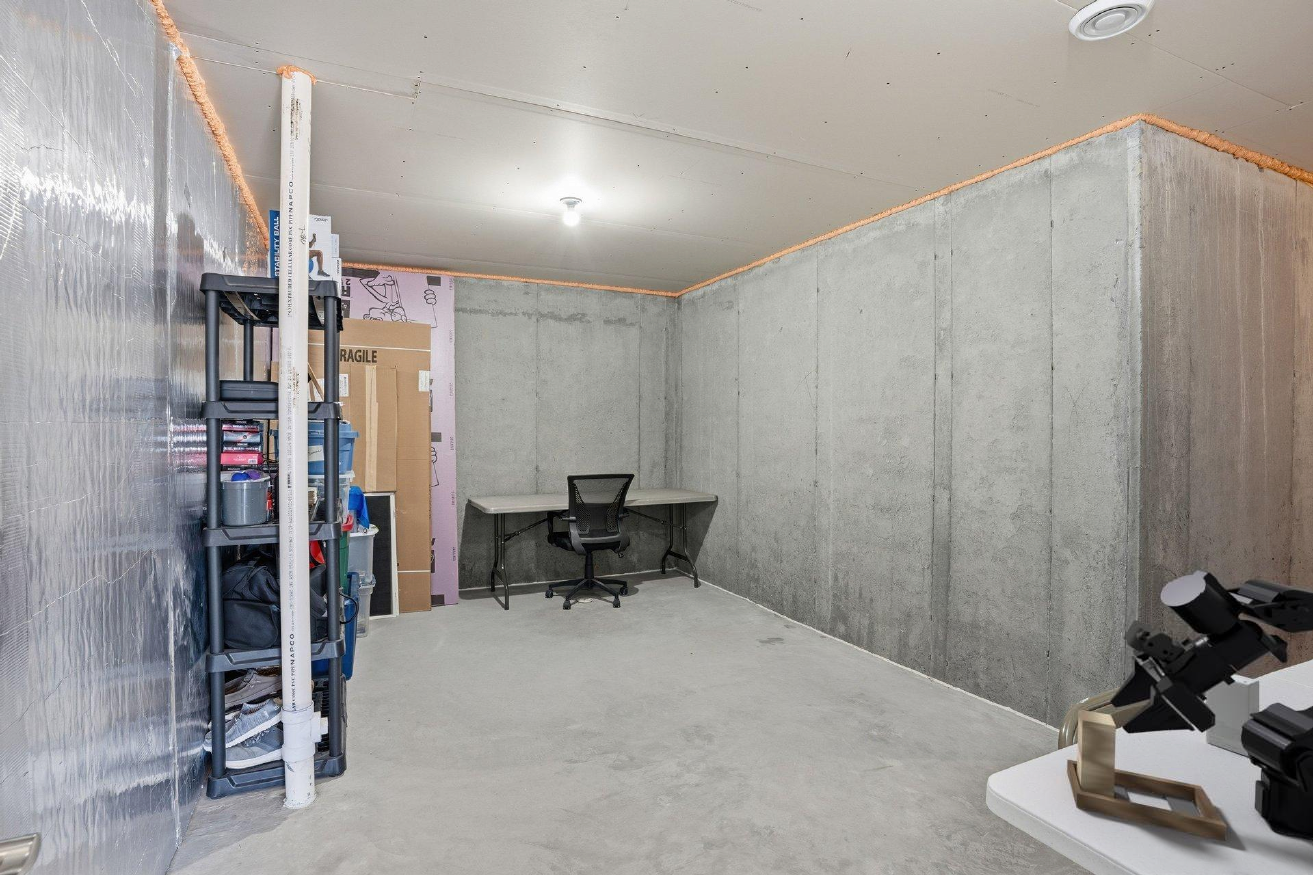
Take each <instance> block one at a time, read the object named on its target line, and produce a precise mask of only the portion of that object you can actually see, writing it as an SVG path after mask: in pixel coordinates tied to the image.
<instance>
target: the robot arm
mask: <svg viewBox="0 0 1313 875" xmlns="http://www.w3.org/2000/svg"><path fill="white" fill-rule="evenodd" d="M1160 600H1161V602H1162V603H1163V604H1164V605H1165V606H1167V608H1168V609H1169V610H1170V611H1172V613H1174V614H1175V615H1176V616H1177V617H1178V618H1179V619H1181V621H1183V623H1185V625H1187V627H1189V628H1190V629H1191V630H1192V631H1193V632H1194V633H1197V634H1199V635H1198V636H1196V637H1195V638H1193V639H1192V638H1191V637H1190V636H1188V635H1187V636H1182V637H1180V638H1178V640H1176V639H1174V638H1173V637H1172V636H1171V634H1168V633H1167V634H1166V633H1164V632H1162V631H1161V630H1160V629H1159V628H1157V629H1155V628H1152V627H1150V626H1149V625H1147V624H1145V623H1142V622H1141V621H1139V620H1136V619H1134V620H1133V622H1132V623H1131V625H1130V626H1129V628H1128V629H1127V631H1126V633H1125V634H1124V636H1123V640H1126V644H1127V645H1128V646H1129V647H1130V648H1131V649H1133V650H1132V653H1133V654H1134V655H1135V656H1134V655H1131V656H1130V657H1131V658H1130V659H1131V673H1130V675H1129V676H1128V677H1127V678H1126V680H1125V681H1124V682H1123V683H1122V685H1121V686H1120V687H1119V689H1118V690H1117V691H1116V692H1115V694H1114V695H1113V696H1112V697H1111V699H1110V700H1109V703H1110V704H1111V705H1112V706H1113V707H1114V708H1116V709H1117V708H1121V707H1126V706H1130V705H1134V704H1137V703H1140V702H1145V701H1148V702H1146V704H1145V705H1143V706H1142V707H1140V709H1139V710H1138V711H1137V712H1135V713H1134V714H1133V715H1132V716H1131V717H1129V718H1128V719H1127V720H1126V721H1125V722H1124V723H1123V724H1122V725H1121V727H1122V729H1123V730H1124V731H1125V733H1127V734H1128V735H1130V734H1139V733H1140V734H1141V733H1153V732H1163V731H1164V732H1165V731H1186V730H1187V731H1188V730H1189V731H1191V732H1194V731H1196V729H1197V730H1198V731H1199V732H1200V733H1201V734H1203V733H1204V732H1206V730H1208V729H1209V728H1211V727H1213V726H1214V725H1215V714H1214V713H1213V711H1212V710H1211V709H1210V708H1209V707H1208V705H1207V704H1206V699H1207V698H1206V692H1207V691H1208V690H1210V689H1212V688H1213V687H1215V686H1216V685H1218V684H1220V683H1221V682H1223V681H1224V682H1225V683H1226V684H1228V685H1231V684H1232V683H1234V682H1235V680H1234V679H1233V678H1232V677H1231V676H1233V675H1234V674H1236V675H1237V674H1238V673H1239V672H1240V671H1242V670H1244V669H1245V668H1247V667H1248V666H1250V665H1252V664H1253V663H1255V662H1257V661H1258V660H1259V659H1262V658H1263V657H1265V656H1267V655H1268V654H1270V655H1272V656H1273V657H1274V658H1275V659H1276V660H1277V661H1279V662H1280V663H1282V664H1286V663H1287V662H1288V652H1287V651H1288V646H1289V643H1288V642H1287V641H1286V640H1285V639H1283V638H1282V637H1281V636H1279V635H1278V634H1270V633H1268V632H1267V631H1266V630H1265V629H1264V628H1263V627H1261V626H1260V625H1259V624H1263V625H1266V626H1268V627H1271V628H1274V629H1277V630H1280V631H1282V632H1286V633H1291V634H1297V633H1298V634H1299V633H1305V632H1313V589H1312V590H1310V589H1305V588H1300V587H1297V586H1293V585H1292V586H1291V585H1287V584H1283V583H1280V582H1274V581H1269V580H1264V579H1259V578H1256V579H1255V578H1253V579H1248V580H1246V581H1244V583H1243V584H1242V585H1241V586H1237V587H1229V588H1225V587H1224V586H1223V585H1222V584H1221V583H1220V582H1219V581H1218V578H1217V577H1215V576H1214V575H1213V573H1211V572H1209V571H1205V570H1202V569H1196V570H1195V571H1194V572H1193V574H1188V575H1183V576H1181V577H1178V578H1176V579H1174V580H1172V581H1169V582H1167V583H1166V584H1165V586H1164V587H1163V588H1162V591H1161V592H1160ZM1241 614H1242V616H1243V618H1246V619H1241V618H1240V617H1239V616H1240V615H1241ZM1250 716H1251V717H1253V718H1252V719H1250V720H1248V721H1247V722H1245V723H1244V724H1243V726H1242V733H1241V743H1242V745H1243V748H1244V749H1245V750H1246V752H1247V753H1248V756H1249V757H1248V756H1247V757H1248V759H1249V761H1250V763H1251V765H1254V766H1256V767H1257V768H1260V780H1259V779H1256V780H1255V788H1254V789H1255V791H1254V806H1253V807H1254V809H1255V810H1256V812H1257V813H1258V814H1259V815H1260V817H1261V818H1262V819H1263V820H1264V822H1265V823H1266V825H1267V826H1268V827H1269V829H1270V830H1272V831H1274V832H1276V833H1281V834H1286V835H1291V836H1295V837H1300V838H1305V839H1309V840H1313V705H1311V706H1309V707H1308V708H1305V709H1301V710H1296V709H1293V708H1292V707H1289V706H1287V705H1285V704H1282V703H1281V702H1274V703H1272V704H1269V705H1268V706H1267V707H1266V708H1264V709H1262V710H1261V711H1260V710H1259V712H1258V713H1251V714H1250Z"/></svg>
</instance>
